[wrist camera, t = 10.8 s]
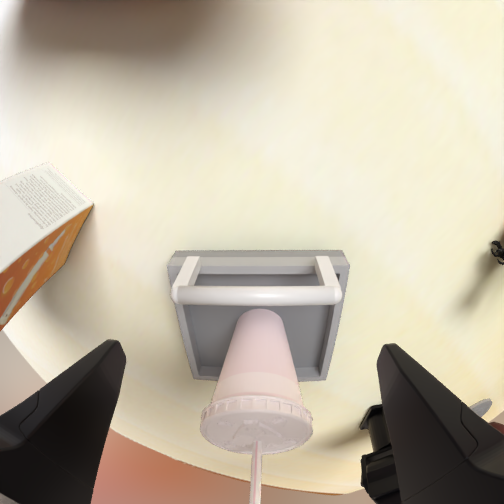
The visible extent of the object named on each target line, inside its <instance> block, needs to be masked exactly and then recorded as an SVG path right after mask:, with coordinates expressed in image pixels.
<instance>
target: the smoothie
mask: <svg viewBox="0 0 504 504" xmlns="http://www.w3.org/2000/svg"><path fill="white" fill-rule="evenodd" d="M201 420H202V421H201V426H200V431H201V433H202V435H203V436H204V438H206V440H208V441H209V442H210V443H212V444H213V445H216V446H218V447H220V448H222V449H225V450H228V451H232V452H236V453H242V454H252V466H251V485H250V486H251V487H250V503H249V504H260V502H261V474H262V455H266V454H275V453H281V452H285V451H289V450H292V449H294V448H297V447H299V446H301V445H302V444H304V443H305V442H306V441H308V440H309V438H310V437H311V435H312V432H313V430H312V420H313V418H312V415H311V412H310V411H309V410H308V409H307V408H306V407H305V406H304V404H303V399H302V395H301V391H300V387H299V383H298V379H297V375H296V371H295V367H294V364H293V360H292V356H291V352H290V348H289V344H288V340H287V336H286V332H285V328H284V324H283V321H282V319H281V318H280V316H279V315H277V314H276V313H275V312H273V311H270V310H267V309H253V310H249V311H247V312H245V313H244V314H242V315H241V316H240V317H239V319H238V321H237V324H236V327H235V330H234V333H233V337H232V340H231V343H230V346H229V349H228V352H227V355H226V358H225V361H224V364H223V367H222V370H221V374H220V377H219V380H218V383H217V386H216V388H215V391H214V394H213V398H212V401H211V404H209V405H208V406H207V407H206V408H205V409H204V410H203V411H202V415H201Z"/></svg>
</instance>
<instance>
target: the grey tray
mask: <svg viewBox="0 0 504 504" xmlns="http://www.w3.org/2000/svg"><path fill="white" fill-rule="evenodd" d="M349 268H350V264H349V263H348V261H347V259H346V257H345V255H344V253H343V251H342V250H228V251H175V253H174V255H173V256H172V258H171V260H170V261H169V263H168V265H167V269H168V274H169V279H170V284H171V289H172V290H171V294H170V296H171V299H172V300H173V302H174V303H175V308H176V312H177V316H178V321H179V325H180V329H181V333H182V337H183V341H184V345H185V349H186V353H187V357H188V360H189V364H190V368H191V371H192V375H193V378H194V379H200V380H215V381H218V380H219V377H220V374H221V370H222V367H223V364H224V361H225V358H226V355H227V352H228V349H229V346H230V343H231V340H232V337H233V333H234V330H235V327H236V324H237V321H238V319H239V317H240V316H241V315H242V314H244V313H245V312H247V311H249V310H253V309H267V310H270V311H273V312H275V313H276V314H277V315H279V316H280V318H281V319H282V321H283V324H284V328H285V332H286V336H287V340H288V344H289V348H290V352H291V356H292V360H293V364H294V367H295V371H296V375H297V379H298V382H300V381H320V380H326V377H327V374H328V370H329V366H330V362H331V358H332V354H333V349H334V345H335V341H336V336H337V332H338V327H339V322H340V318H341V313H342V308H343V302H344V297H345V292H346V286H347V280H348V274H349Z"/></svg>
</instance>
